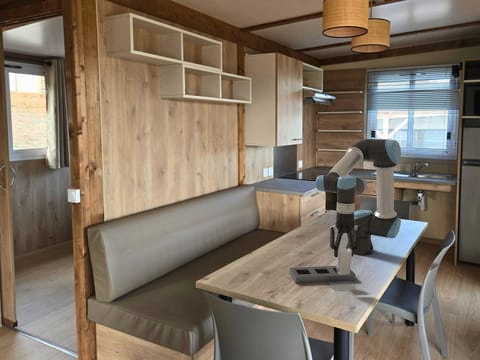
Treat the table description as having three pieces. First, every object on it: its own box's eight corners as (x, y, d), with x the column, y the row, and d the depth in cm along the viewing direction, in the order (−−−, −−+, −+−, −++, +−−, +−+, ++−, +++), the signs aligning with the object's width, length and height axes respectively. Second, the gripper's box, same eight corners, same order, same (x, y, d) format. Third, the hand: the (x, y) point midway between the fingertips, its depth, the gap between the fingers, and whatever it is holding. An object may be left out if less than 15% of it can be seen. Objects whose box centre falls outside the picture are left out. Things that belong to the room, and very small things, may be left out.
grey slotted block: (345, 273, 202) (346, 265, 201) (355, 282, 190) (355, 274, 189) (289, 275, 198) (289, 267, 198) (295, 285, 187) (295, 277, 186)
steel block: (346, 270, 185) (347, 249, 184) (349, 274, 181) (350, 252, 179) (336, 271, 185) (336, 249, 183) (339, 274, 180) (340, 252, 179)
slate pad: (349, 283, 189) (349, 281, 189) (357, 292, 180) (357, 290, 179) (327, 284, 188) (328, 282, 188) (335, 293, 178) (335, 291, 178)
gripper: (328, 214, 174) (326, 267, 177) (368, 213, 176) (366, 266, 179) (322, 210, 181) (321, 261, 185) (361, 209, 183) (359, 260, 187)
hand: (343, 263), depth 182 cm, fingers closed on steel block, 5 cm apart
